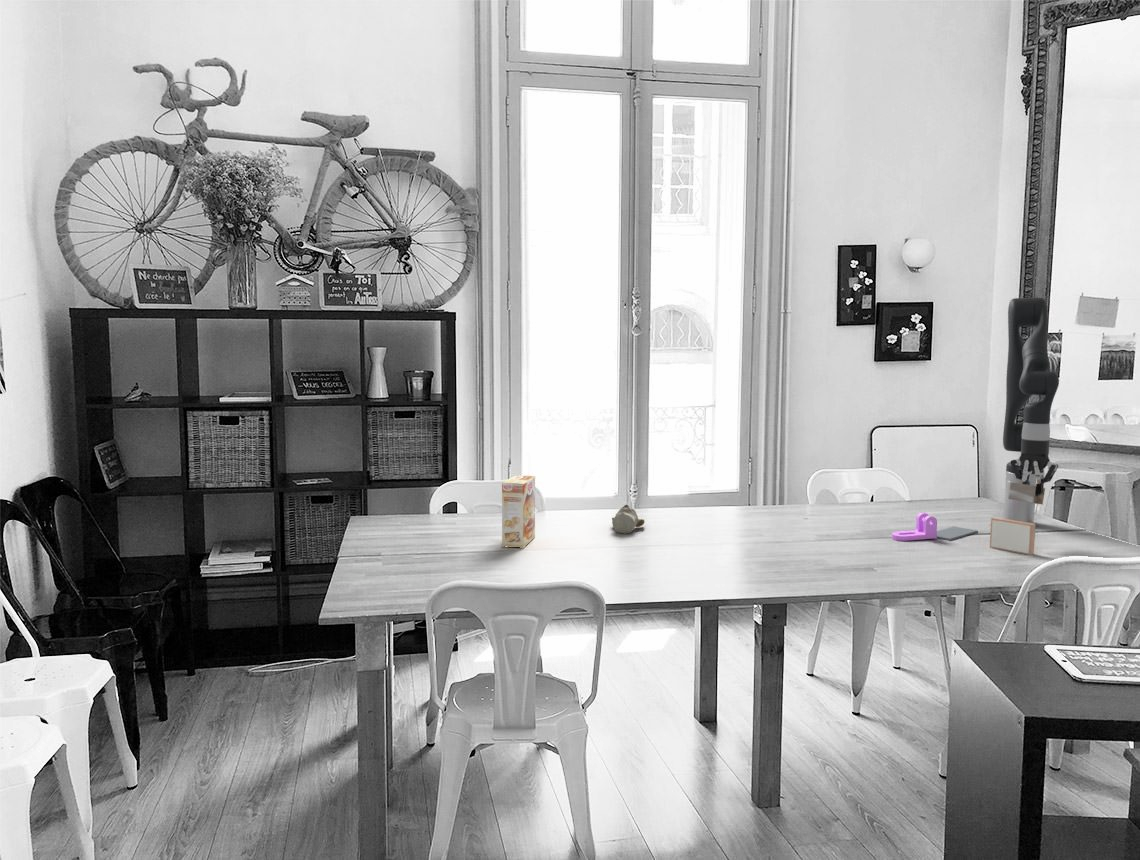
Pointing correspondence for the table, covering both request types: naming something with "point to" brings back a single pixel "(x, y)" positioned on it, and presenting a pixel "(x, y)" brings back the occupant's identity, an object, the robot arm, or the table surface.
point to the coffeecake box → (518, 511)
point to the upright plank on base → (1025, 493)
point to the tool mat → (954, 533)
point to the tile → (1012, 535)
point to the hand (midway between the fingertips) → (1032, 494)
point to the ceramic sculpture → (626, 520)
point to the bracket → (919, 529)
